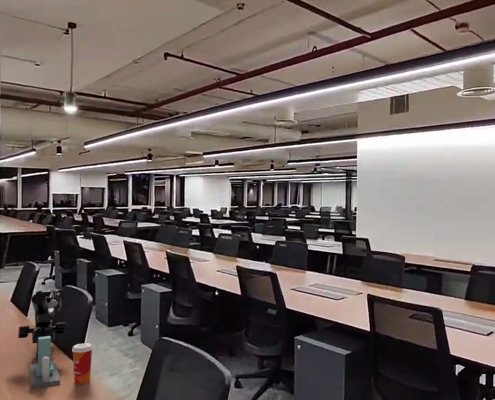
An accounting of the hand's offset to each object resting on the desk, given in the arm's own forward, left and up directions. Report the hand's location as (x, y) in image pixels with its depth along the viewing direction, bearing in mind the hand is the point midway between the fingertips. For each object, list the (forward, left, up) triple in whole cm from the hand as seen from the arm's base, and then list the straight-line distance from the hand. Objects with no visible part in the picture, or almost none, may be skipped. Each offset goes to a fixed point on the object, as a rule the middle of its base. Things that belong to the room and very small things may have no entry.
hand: (43, 348), depth 188 cm
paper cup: (+23, +13, -9) cm, 28 cm away
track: (+10, 0, -8) cm, 13 cm away
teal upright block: (+14, 0, -7) cm, 16 cm away
